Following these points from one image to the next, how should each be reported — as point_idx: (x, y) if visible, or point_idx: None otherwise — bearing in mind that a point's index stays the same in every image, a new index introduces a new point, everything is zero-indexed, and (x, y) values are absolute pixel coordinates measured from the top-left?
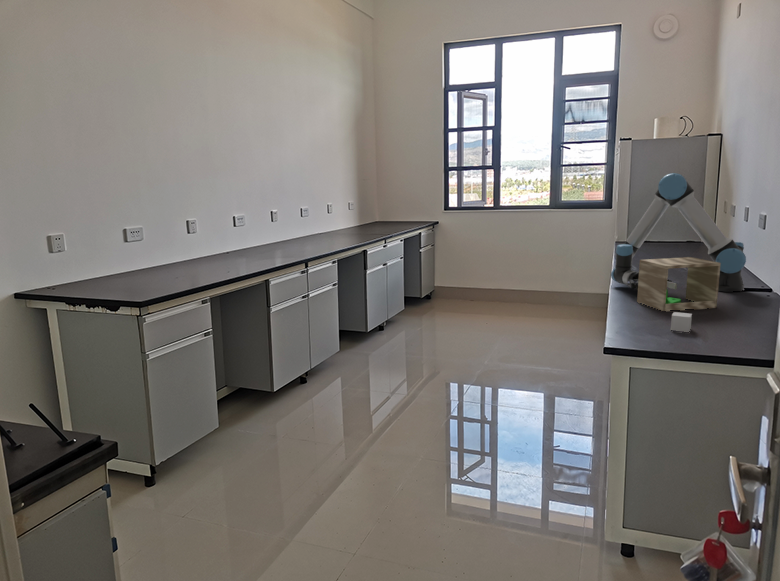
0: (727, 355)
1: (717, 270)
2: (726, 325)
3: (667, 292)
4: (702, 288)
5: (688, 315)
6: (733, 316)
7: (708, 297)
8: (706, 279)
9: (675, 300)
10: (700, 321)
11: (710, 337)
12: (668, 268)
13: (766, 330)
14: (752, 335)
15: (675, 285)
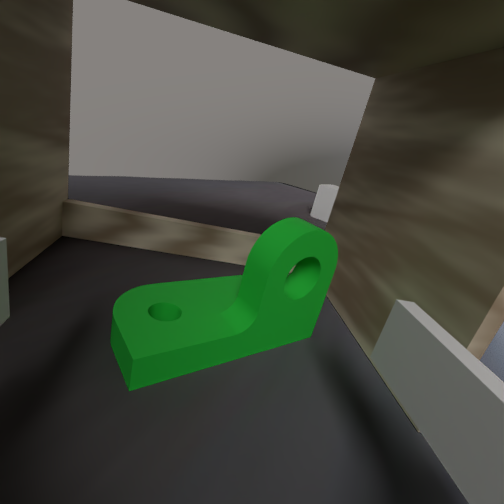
0: (310, 192)
1: (71, 16)
2: (225, 200)
3: (249, 258)
4: (12, 164)
5: (330, 185)
6: (136, 201)
7: (44, 201)
8: (28, 84)
9: (186, 291)
10: (259, 218)
11: (297, 202)
12: (374, 76)
13: (180, 180)
14: (227, 186)
15: (2, 262)
